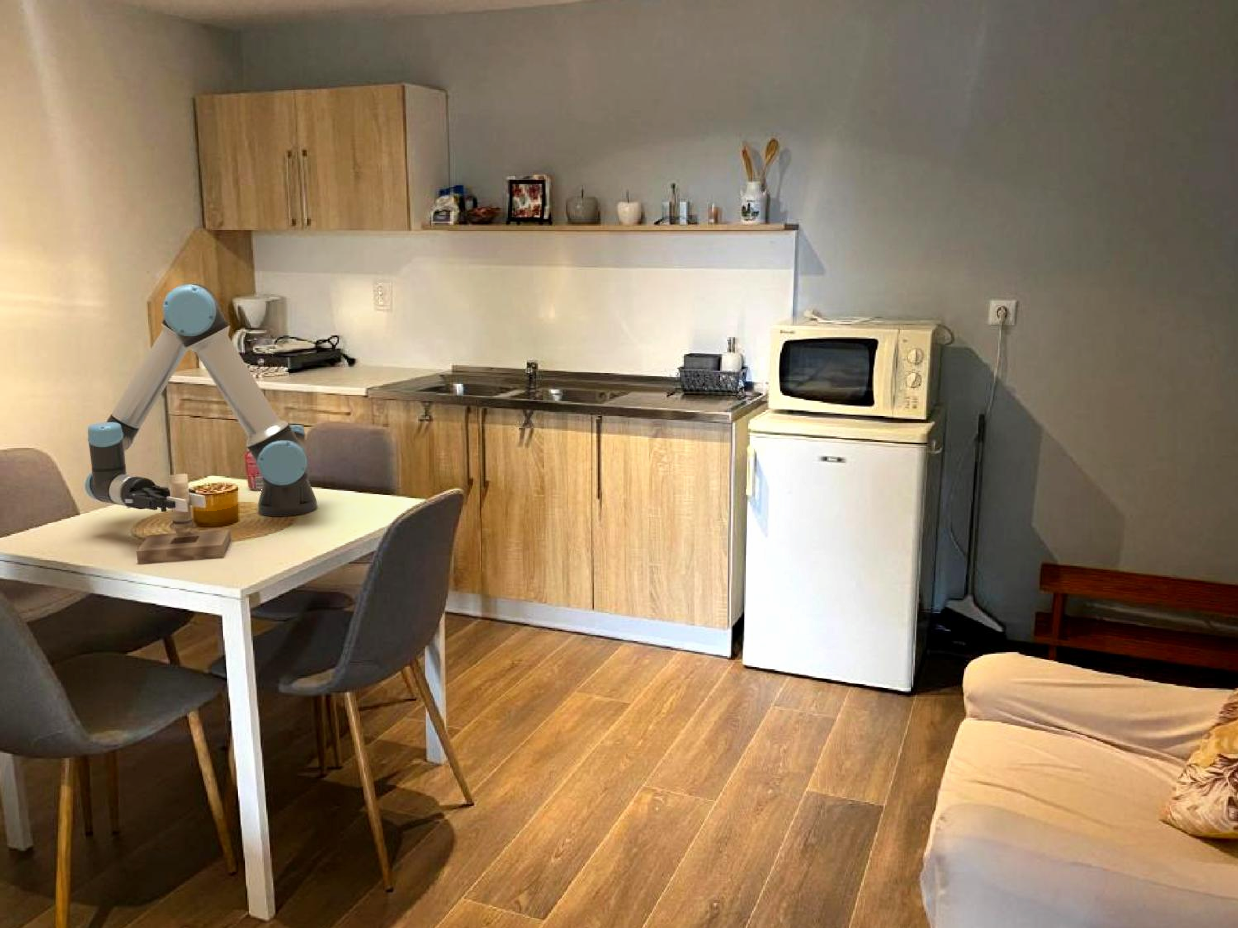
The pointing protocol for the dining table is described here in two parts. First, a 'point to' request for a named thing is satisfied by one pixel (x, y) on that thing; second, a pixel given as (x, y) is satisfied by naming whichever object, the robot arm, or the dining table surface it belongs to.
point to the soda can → (253, 473)
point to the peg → (180, 490)
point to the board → (184, 547)
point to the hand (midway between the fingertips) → (195, 503)
